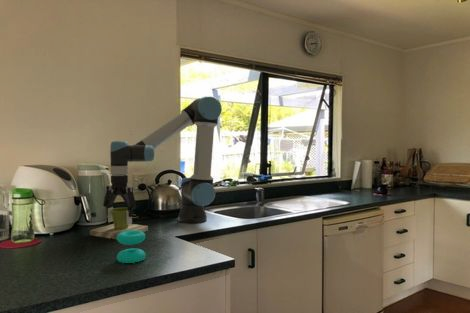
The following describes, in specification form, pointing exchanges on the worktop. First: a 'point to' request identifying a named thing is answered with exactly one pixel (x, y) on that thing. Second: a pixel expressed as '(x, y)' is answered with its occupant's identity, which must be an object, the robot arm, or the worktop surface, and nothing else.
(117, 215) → the plant pot
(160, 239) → the worktop surface
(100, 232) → the striped wooden cutting board
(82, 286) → the worktop surface
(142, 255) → the donuts
